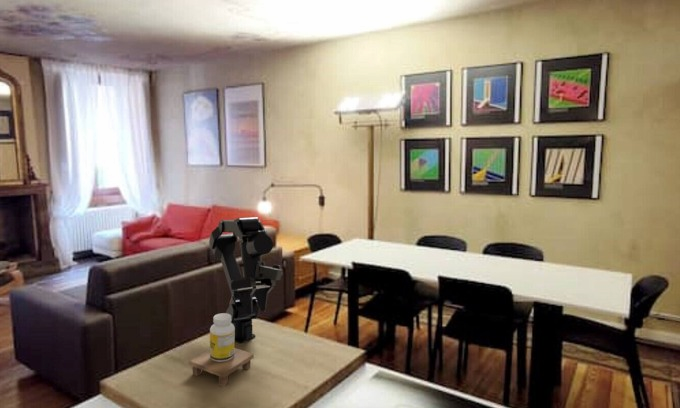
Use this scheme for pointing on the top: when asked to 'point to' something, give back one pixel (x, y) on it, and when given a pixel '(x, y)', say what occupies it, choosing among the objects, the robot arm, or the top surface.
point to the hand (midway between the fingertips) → (257, 312)
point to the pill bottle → (222, 338)
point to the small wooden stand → (221, 364)
